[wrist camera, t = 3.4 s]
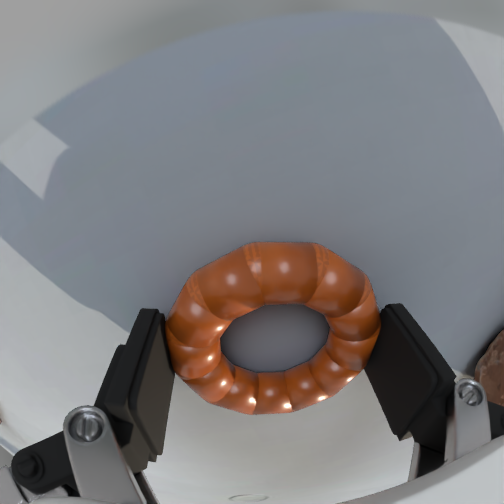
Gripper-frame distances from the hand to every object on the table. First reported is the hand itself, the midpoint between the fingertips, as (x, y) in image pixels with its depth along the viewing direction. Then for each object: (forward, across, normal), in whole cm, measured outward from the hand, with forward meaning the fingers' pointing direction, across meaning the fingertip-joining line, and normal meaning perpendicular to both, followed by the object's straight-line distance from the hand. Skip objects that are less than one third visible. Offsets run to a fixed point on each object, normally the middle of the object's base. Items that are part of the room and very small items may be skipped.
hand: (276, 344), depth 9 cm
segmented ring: (0, 0, 0) cm, 0 cm away
